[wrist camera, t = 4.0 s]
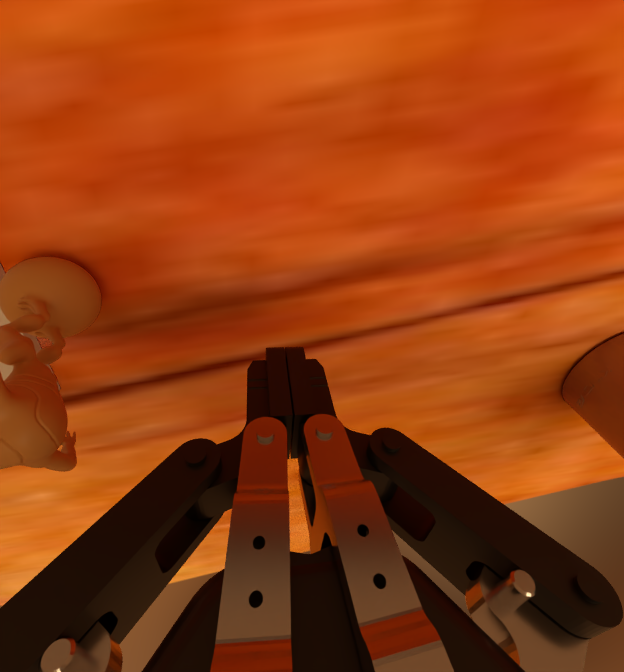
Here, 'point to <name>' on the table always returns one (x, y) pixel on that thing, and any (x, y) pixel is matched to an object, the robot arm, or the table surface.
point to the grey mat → (7, 369)
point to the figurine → (40, 358)
